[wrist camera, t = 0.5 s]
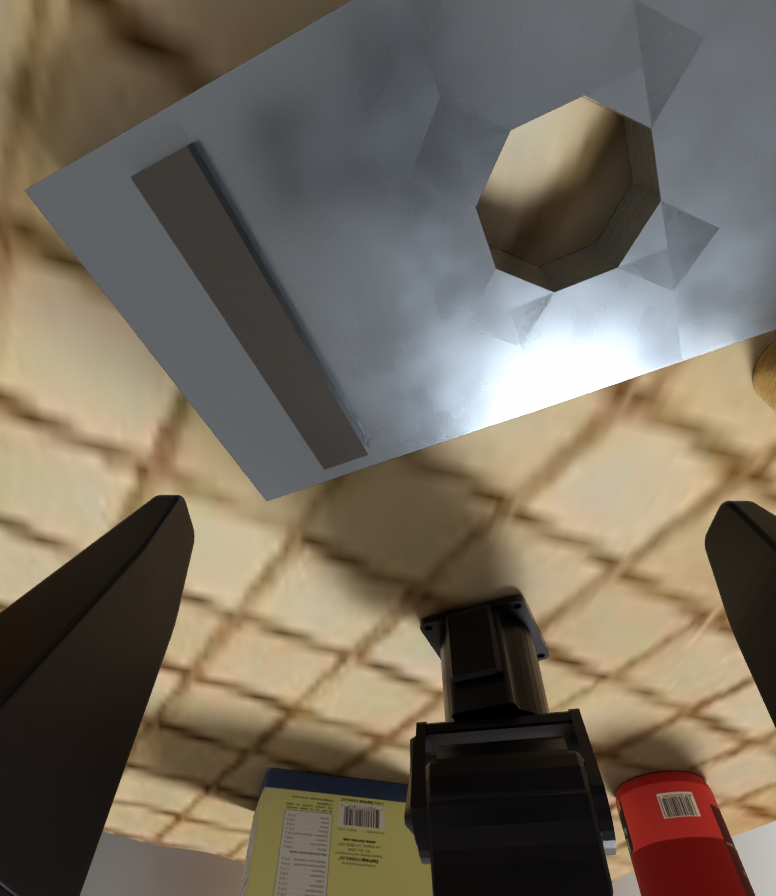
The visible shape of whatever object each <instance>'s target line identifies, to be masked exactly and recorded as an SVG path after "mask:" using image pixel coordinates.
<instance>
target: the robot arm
mask: <svg viewBox="0 0 776 896" xmlns="http://www.w3.org/2000/svg"><path fill="white" fill-rule="evenodd" d="M193 545H194V529H193V525H192V522H191V519H190V515H189V512H188V508H187V505H186V502H185V500H184V498H183V497H182V496H180V495H158V496H155V497H154V498H152V499H151V500H150V501H148V502H147V503H146V504H144V505H143V506H142V507H140V508H139V509H138V510H136V511H135V512H134V513H132V514H131V515H130V516H128V517H127V518H126V519H124V520H123V521H122V522H120V523H119V524H118V525H116V526H115V527H114V528H112V529H111V530H110V531H108V532H107V533H106V534H104V535H103V536H102V537H100V538H99V539H98V540H96V541H95V542H94V543H92V544H91V545H90V546H88V547H87V548H86V549H84V550H83V551H82V552H80V553H79V554H78V555H76V556H75V557H74V558H72V559H71V560H70V561H68V562H67V563H66V564H64V565H63V566H62V567H60V568H59V569H58V570H56V571H55V572H54V573H52V574H51V575H50V576H48V577H47V578H46V579H44V580H43V581H42V582H40V583H39V584H38V585H36V586H35V587H34V588H32V589H31V590H30V591H28V592H27V593H26V594H24V595H23V596H22V597H20V598H19V599H18V600H16V601H15V602H14V603H12V604H11V605H10V606H8V607H7V608H6V609H4V610H3V611H2V612H0V896H80V893H81V890H82V888H83V885H84V882H85V879H86V876H87V874H88V871H89V868H90V865H91V862H92V859H93V856H94V854H95V851H96V848H97V845H98V842H99V840H100V837H101V834H102V831H103V828H104V825H105V823H106V820H107V817H108V814H109V811H110V808H111V806H112V803H113V800H114V797H115V794H116V791H117V789H118V786H119V783H120V780H121V777H122V774H123V772H124V769H125V766H126V763H127V760H128V757H129V755H130V752H131V749H132V746H133V743H134V740H135V738H136V735H137V732H138V729H139V726H140V723H141V721H142V718H143V715H144V712H145V709H146V706H147V704H148V701H149V698H150V695H151V692H152V689H153V687H154V684H155V681H156V678H157V675H158V672H159V670H160V667H161V664H162V661H163V658H164V655H165V653H166V650H167V647H168V644H169V641H170V638H171V635H172V632H173V629H174V626H175V623H176V619H177V615H178V611H179V606H180V602H181V598H182V593H183V589H184V584H185V580H186V576H187V571H188V567H189V562H190V558H191V553H192V549H193ZM705 549H706V553H707V556H708V559H709V562H710V565H711V568H712V571H713V574H714V577H715V580H716V583H717V587H718V590H719V593H720V596H721V599H722V602H723V605H724V608H725V611H726V614H727V617H728V620H729V623H730V626H731V628H732V631H733V634H734V636H735V638H736V641H737V643H738V645H739V648H740V650H741V652H742V654H743V657H744V659H745V661H746V663H747V665H748V668H749V670H750V672H751V674H752V677H753V679H754V681H755V683H756V685H757V688H758V690H759V692H760V694H761V696H762V699H763V701H764V703H765V705H766V708H767V710H768V712H769V714H770V716H771V719H772V721H773V723H774V725H775V727H776V516H775V515H774V514H772V513H770V512H769V511H767V510H765V509H764V508H762V507H760V506H759V505H757V504H755V503H754V502H751V501H726V502H724V503H723V504H721V505H720V507H719V509H718V511H717V513H716V515H715V517H714V519H713V521H712V523H711V525H710V527H709V529H708V532H707V534H706V537H705ZM420 629H421V631H422V633H423V634H424V635H425V637H426V638H427V640H428V641H429V643H430V644H431V646H432V647H433V649H434V650H435V652H436V653H437V655H438V656H439V658H440V659H441V666H442V680H443V694H444V709H445V722H438V723H427V722H417V724H416V736H415V737H413V738H412V739H411V740H410V778H409V785H408V792H407V798H406V805H405V812H404V821H405V826H406V827H407V828H408V829H409V830H410V831H411V833H412V834H413V835H414V837H415V842H416V845H417V847H418V852H419V856H420V860H421V863H422V864H423V865H426V864H431V875H432V889H433V896H613V888H612V882H611V878H610V873H609V869H608V865H607V860H606V856H605V855H615V854H616V839H615V832H614V827H613V821H612V816H611V812H610V807H609V803H608V799H607V795H606V791H605V787H604V784H603V781H602V777H601V774H600V771H599V768H598V765H597V762H596V759H595V756H594V753H593V750H592V747H591V744H590V741H589V738H588V735H587V732H586V729H585V726H584V723H583V720H582V717H581V714H580V710H579V708H578V709H568V711H565V712H554V713H550V712H549V708H548V703H547V699H546V694H545V690H544V685H543V681H542V676H541V672H540V667H539V663H538V661H540V660H544V659H546V658H548V656H549V653H548V649H547V646H546V644H545V642H544V640H543V638H542V636H541V633H540V631H539V629H538V627H537V625H536V623H535V620H534V618H533V616H532V614H531V612H530V610H529V608H528V605H527V603H526V601H525V599H524V598H523V597H522V596H520V595H514V596H510V597H506V598H502V599H498V600H494V601H490V602H486V603H482V604H478V605H474V606H470V607H466V608H462V609H458V610H455V611H451V612H447V613H443V614H439V615H435V616H431V617H427V618H424V619H422V620H421V621H420Z"/></svg>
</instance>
